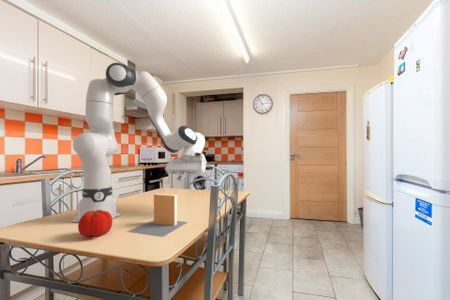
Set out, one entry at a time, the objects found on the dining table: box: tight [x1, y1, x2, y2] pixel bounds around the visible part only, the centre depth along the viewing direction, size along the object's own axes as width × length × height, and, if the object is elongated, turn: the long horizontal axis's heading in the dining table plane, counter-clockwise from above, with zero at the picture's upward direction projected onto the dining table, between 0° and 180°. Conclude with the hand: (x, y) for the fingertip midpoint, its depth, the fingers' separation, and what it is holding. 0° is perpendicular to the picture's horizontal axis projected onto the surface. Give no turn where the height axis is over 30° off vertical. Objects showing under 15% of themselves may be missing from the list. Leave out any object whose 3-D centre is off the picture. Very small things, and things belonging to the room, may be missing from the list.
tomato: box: [77, 210, 113, 238], centre depth 84 cm, size 11×11×9 cm
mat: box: [126, 219, 189, 238], centre depth 92 cm, size 18×16×1 cm
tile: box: [153, 193, 178, 226], centre depth 95 cm, size 2×10×12 cm, turn 70°
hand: (179, 180), depth 106 cm, fingers closed
